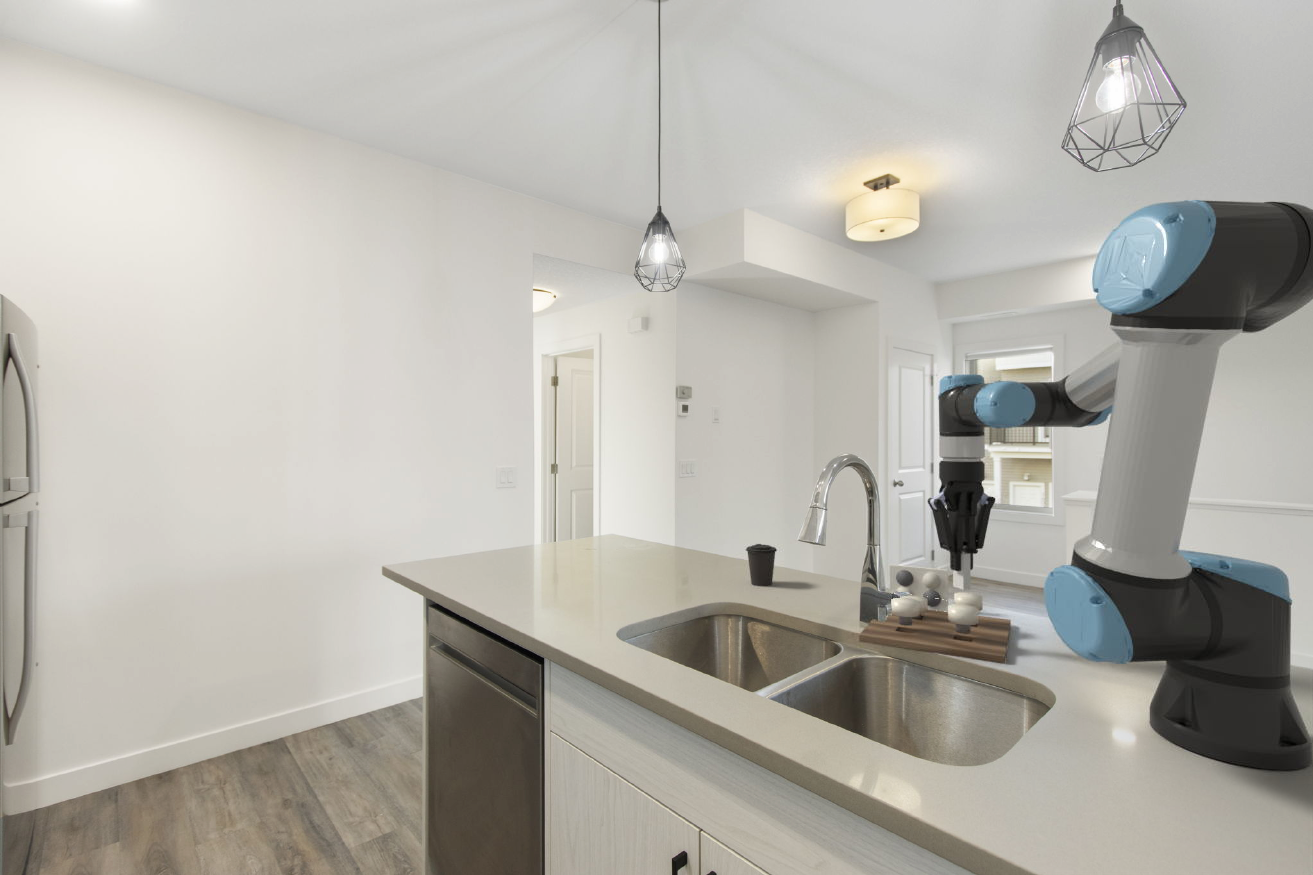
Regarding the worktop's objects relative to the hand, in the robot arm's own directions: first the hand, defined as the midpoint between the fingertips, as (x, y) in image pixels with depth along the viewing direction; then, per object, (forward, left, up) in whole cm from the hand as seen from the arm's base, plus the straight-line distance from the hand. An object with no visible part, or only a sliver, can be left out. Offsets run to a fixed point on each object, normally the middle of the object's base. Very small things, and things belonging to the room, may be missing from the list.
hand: (961, 587), depth 116 cm
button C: (+10, 0, -8) cm, 13 cm away
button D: (+10, +10, -10) cm, 17 cm away
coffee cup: (+26, +50, -11) cm, 57 cm away
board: (+5, +5, -10) cm, 12 cm away
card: (+23, +11, -10) cm, 28 cm away
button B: (0, +10, -8) cm, 13 cm away
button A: (0, 0, -8) cm, 8 cm away
